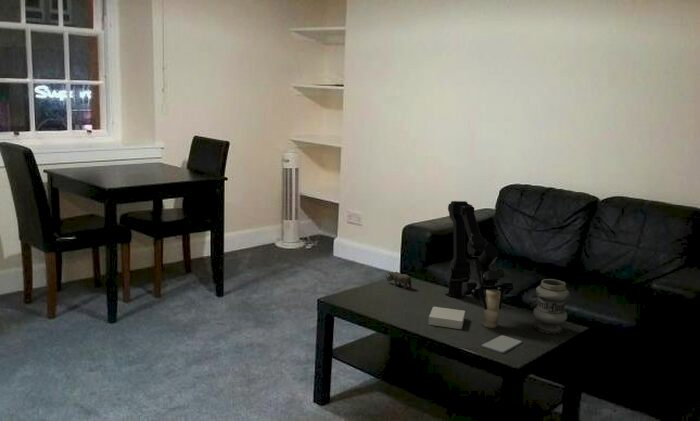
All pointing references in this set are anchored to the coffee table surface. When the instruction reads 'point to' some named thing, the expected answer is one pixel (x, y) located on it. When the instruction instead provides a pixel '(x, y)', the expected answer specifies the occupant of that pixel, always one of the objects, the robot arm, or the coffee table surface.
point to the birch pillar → (491, 308)
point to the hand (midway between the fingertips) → (493, 309)
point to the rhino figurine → (400, 279)
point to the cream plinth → (446, 317)
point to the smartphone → (501, 344)
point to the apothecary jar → (551, 305)
